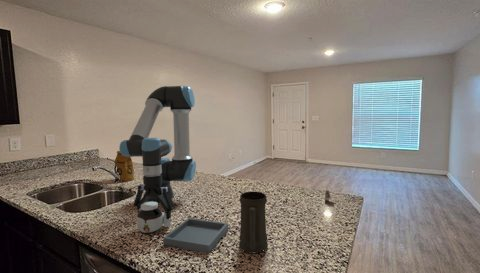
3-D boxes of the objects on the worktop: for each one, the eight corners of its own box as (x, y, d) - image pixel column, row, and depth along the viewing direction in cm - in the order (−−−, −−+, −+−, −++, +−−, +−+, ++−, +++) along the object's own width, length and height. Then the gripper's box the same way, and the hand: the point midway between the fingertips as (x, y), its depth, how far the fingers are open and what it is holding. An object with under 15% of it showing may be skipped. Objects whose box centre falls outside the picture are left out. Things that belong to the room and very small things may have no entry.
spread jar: (134, 232, 107) (133, 206, 106) (152, 222, 118) (151, 197, 116) (157, 237, 103) (156, 209, 102) (174, 226, 113) (173, 200, 112)
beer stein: (237, 238, 101) (237, 190, 98) (264, 237, 102) (265, 189, 99) (241, 263, 86) (241, 208, 83) (272, 261, 87) (273, 206, 84)
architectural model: (332, 201, 143) (332, 188, 142) (331, 206, 137) (331, 192, 136) (325, 200, 144) (325, 188, 144) (324, 205, 138) (324, 191, 137)
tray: (163, 245, 97) (163, 237, 96) (188, 224, 115) (188, 217, 114) (209, 253, 91) (209, 245, 91) (228, 230, 109) (228, 223, 109)
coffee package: (125, 182, 184) (123, 152, 182) (113, 180, 190) (111, 151, 187) (136, 179, 193) (134, 150, 191) (125, 177, 198) (123, 149, 196)
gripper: (122, 174, 108) (125, 224, 110) (172, 178, 101) (174, 231, 103) (135, 170, 115) (137, 217, 117) (182, 174, 108) (183, 224, 110)
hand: (154, 224), depth 110 cm, fingers closed on spread jar, 12 cm apart
